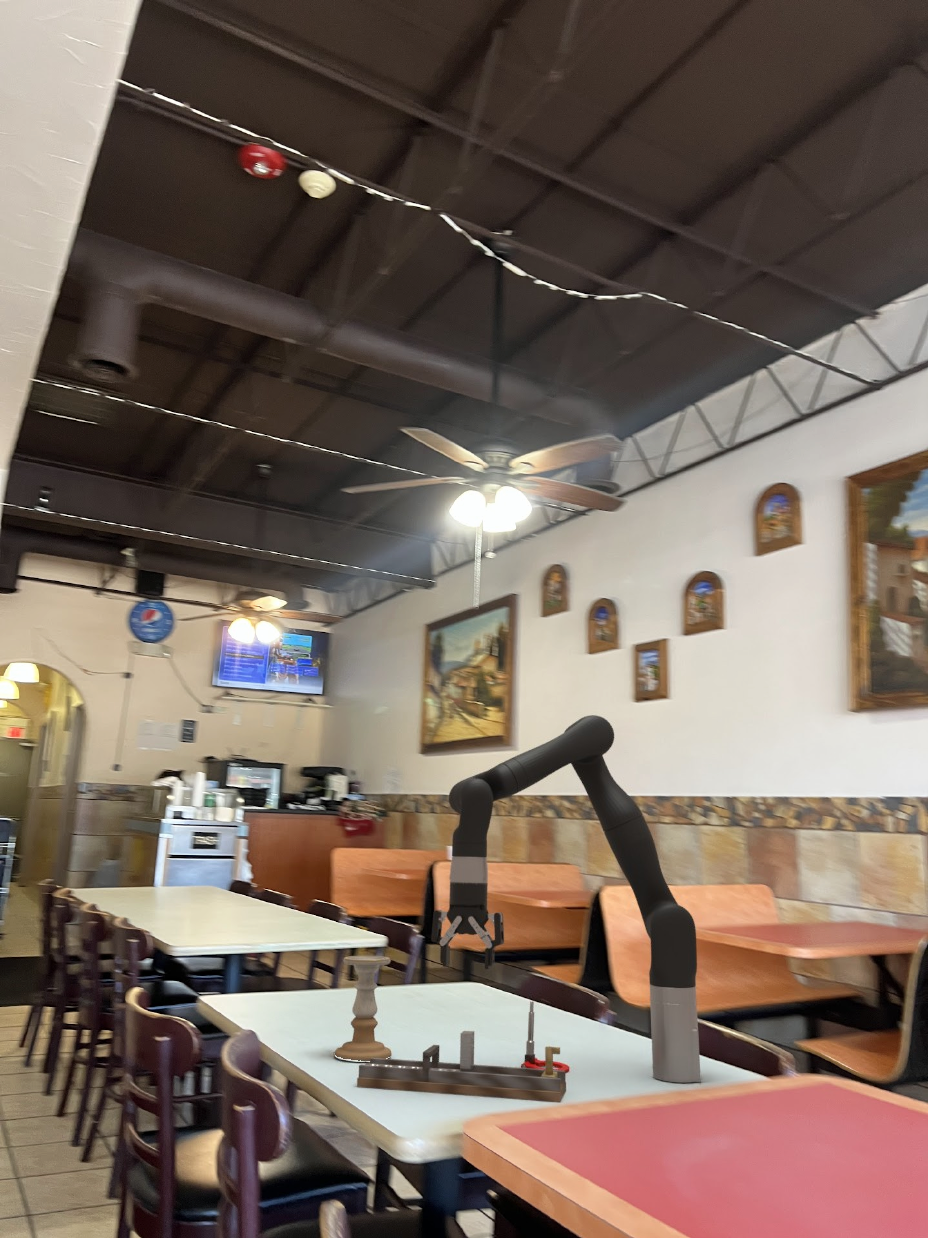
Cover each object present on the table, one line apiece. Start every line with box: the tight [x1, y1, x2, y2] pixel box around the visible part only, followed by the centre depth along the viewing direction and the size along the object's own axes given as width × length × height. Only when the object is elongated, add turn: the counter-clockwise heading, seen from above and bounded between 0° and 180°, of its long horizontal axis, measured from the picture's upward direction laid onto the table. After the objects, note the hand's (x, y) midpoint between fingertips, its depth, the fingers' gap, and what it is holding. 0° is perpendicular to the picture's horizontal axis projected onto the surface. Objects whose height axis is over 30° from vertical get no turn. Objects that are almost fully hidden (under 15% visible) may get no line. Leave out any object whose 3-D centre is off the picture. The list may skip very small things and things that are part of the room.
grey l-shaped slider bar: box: [363, 1030, 475, 1072], centre depth 169 cm, size 21×3×8 cm, turn 77°
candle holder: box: [334, 955, 392, 1061], centre depth 195 cm, size 12×12×20 cm
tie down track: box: [356, 1044, 567, 1103], centre depth 167 cm, size 38×9×8 cm, turn 77°
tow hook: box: [520, 1000, 571, 1074], centre depth 185 cm, size 8×13×9 cm
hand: (466, 967), depth 173 cm, fingers open, 8 cm apart
